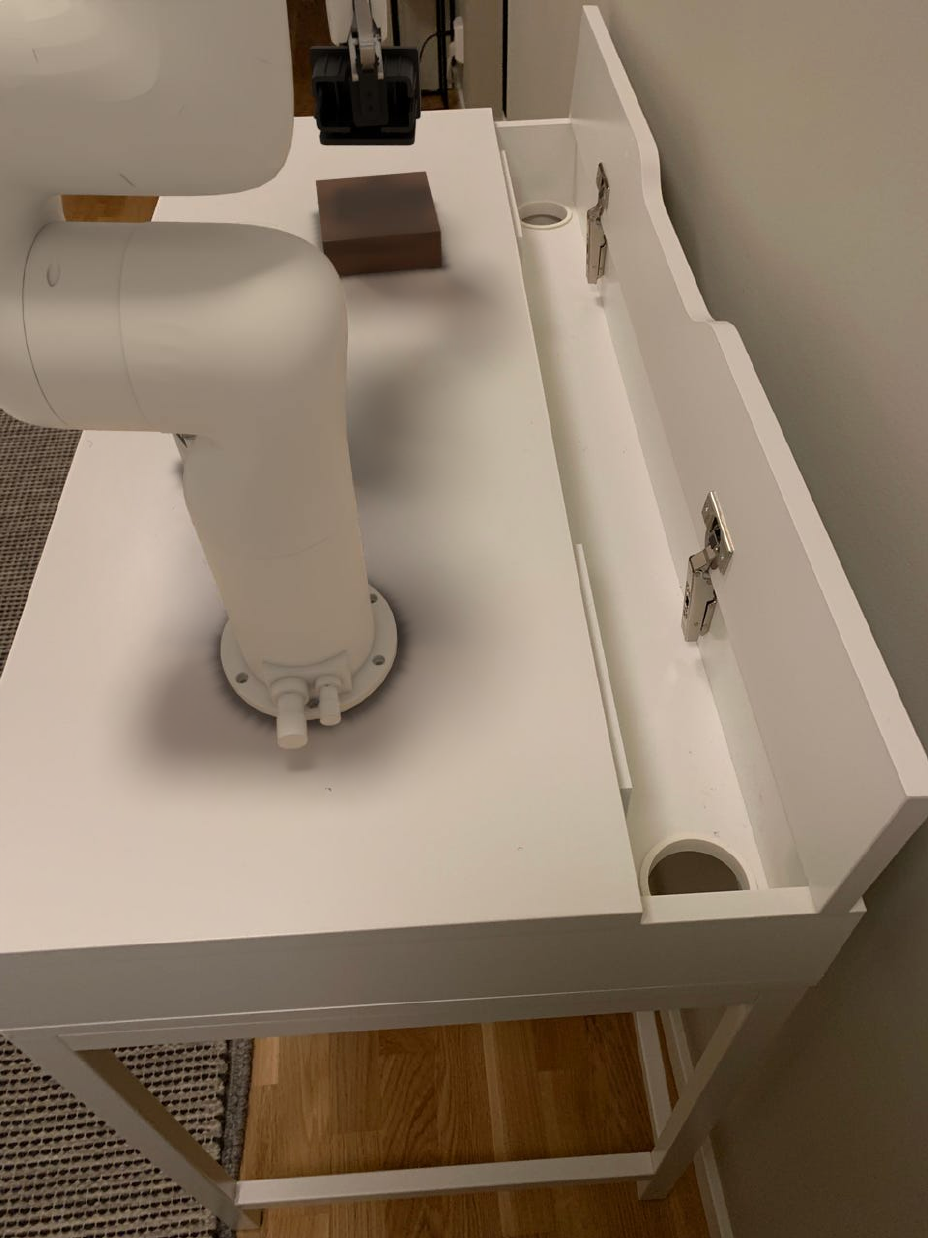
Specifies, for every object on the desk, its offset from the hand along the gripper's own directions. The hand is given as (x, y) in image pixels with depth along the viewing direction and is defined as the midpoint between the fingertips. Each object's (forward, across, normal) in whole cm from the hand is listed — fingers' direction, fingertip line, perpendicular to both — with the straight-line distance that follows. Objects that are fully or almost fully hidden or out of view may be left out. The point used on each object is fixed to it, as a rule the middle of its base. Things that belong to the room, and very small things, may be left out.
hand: (367, 101), depth 83 cm
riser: (+14, 0, 0) cm, 14 cm away
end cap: (+3, 0, 0) cm, 3 cm away
